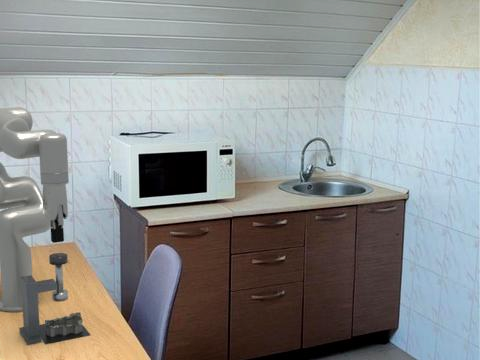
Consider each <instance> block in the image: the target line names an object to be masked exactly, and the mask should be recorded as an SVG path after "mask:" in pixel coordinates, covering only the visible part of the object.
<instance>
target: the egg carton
mask: <svg viewBox="0 0 480 360" xmlns="http://www.w3.org/2000/svg"><path fill="white" fill-rule="evenodd" d="M44 324H45V326H46V335H49V336H51V337H54V336H55V335H57V334H62V335H67V334H68V333H75V334H78V333H80V332H82V325H83V319H82V313H81V312H80V311H78V312H72V313H70V314H69V315H65V316H62V317H57V318H56V317H55V318H53V319H45V320H44ZM83 326H84V325H83Z"/></svg>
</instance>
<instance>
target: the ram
mask: <svg viewBox="0 0 480 360" xmlns="http://www.w3.org/2000/svg"><path fill="white" fill-rule="evenodd" d="M48 261H49V264H50V265H52V266H54V268H55V269H54V270H55V271H54V273H55V282H56V283H57V290H53V291H52V292H51V295H52V296H51V298H52V299H51V300H52V302H53V301H54V302H55V303H56V302H58V303H59V302H64V301H67V300H69V290H67V289H64V272H63V271H64V270H63V265H66V264H67V263H68V261H69V260H68V254H67V253H65V252H57V253H56V252H55V253H52V254H49V256H48Z"/></svg>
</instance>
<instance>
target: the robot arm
mask: <svg viewBox="0 0 480 360" xmlns="http://www.w3.org/2000/svg"><path fill="white" fill-rule="evenodd" d="M33 121H34V120H33V117H32V114H31V112H30V111H29V110H28V109H27V108H24V107H19V106H18V107H2V108H0V153H1V152H3V153H4V154H6V155H7V156H8V157H11V158H13V159H17V160H25V159H32V158H39V173H40V174H39V175H40V184H41V185H42V191H41V189H40V187H39V185H38V183H37V182H36V180H35V179H33V178H32V177H30V176H25V175H24V176H23V175H22V176H15V177H12V176H10V175H9V174H8V172H7V170H6V168H5V165H4V164H3V163H2V162H0V283H1V284H0V285H1V297H2V298H0V310H1V311H2V312H3V311H4V312H9V313H10V312H11V313H12V312H15V313H16V312H23V307H22V290H21V277H24V276H31V275H32V277H33V278H34V275H33V262H32V261H33V259H32V250H31V247H30V246H29V244H28V243H26V242H25V240H24V238H25V237H29V236H33V235H38V234H43V233H45V232H48V231H49V230H50V242H52V243H53V244H54V243H55V244H56V243H63V242H64V241H65V239H64V238H65V236H64V235H65V232H64V231H65V230H64V226H65V225H64V224H65V222H64V220H66V219H67V218H68V216H69V215H68V214H69V211H68V206H69V205H68V193H67V186H66V185H67V184H69V162H68V161H69V160H68V155H69V154H68V139H67V136H66V134H63V133H59V132H55V131H54V130H52V129H37V130H36V129H35V130H32V127H33V123H34V122H33ZM39 303H40V298H39V297H38V304H39Z"/></svg>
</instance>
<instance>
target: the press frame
mask: <svg viewBox="0 0 480 360" xmlns="http://www.w3.org/2000/svg"><path fill="white" fill-rule="evenodd" d="M32 276H33V274H32V275H31V276H24V277H21V290H22V307H23V311H22V320H23V321H22V322H23V326H22V327H19V328H18V331H19V333H20V336H21V337H22V340H23V341H24V342H25V345H26V346H30V345H34V344H39V343H42V342H43V344H44V345H50V344H56V343H60V342H66V341H71V340H75V339H79V338H85V337H89V336H91V333H90V332H89V331H88V330H87V328H86V327H85V326H84V325H82V332H80V333H78V334H75V333H68V334H67V335H62V334H57V335H55V336H54V337H51V336H49V335H46V326H45V323H42V324H40V310H39V309H40V308H39V307H40V306H39V303H38V298H39V294H41V293H47V292H51V291H52V292H53V291H55V290H57V283H56V279H54V278H51V279H49V278H48V279H43V280H38V281H36V279H35V278H34V276H33V277H32Z"/></svg>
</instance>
